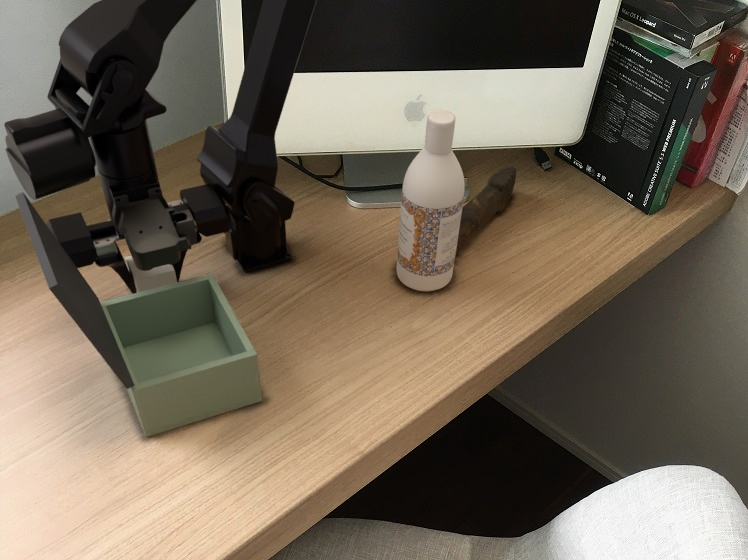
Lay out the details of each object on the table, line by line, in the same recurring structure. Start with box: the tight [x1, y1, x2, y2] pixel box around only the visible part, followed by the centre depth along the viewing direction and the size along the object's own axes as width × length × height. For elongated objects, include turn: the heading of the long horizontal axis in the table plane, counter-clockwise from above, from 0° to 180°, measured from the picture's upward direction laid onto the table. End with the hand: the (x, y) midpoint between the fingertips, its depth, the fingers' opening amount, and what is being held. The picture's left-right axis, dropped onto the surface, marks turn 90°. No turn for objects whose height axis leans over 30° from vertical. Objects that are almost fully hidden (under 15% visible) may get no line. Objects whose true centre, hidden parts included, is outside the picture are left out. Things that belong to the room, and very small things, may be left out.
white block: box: [124, 255, 177, 293], centre depth 91 cm, size 4×4×4 cm
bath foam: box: [395, 108, 465, 292], centre depth 89 cm, size 7×7×20 cm
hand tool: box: [456, 165, 517, 254], centre depth 101 cm, size 19×4×5 cm, turn 143°
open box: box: [100, 273, 263, 438], centre depth 82 cm, size 13×14×7 cm
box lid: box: [14, 191, 134, 390], centre depth 72 cm, size 13×14×1 cm
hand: (155, 288), depth 92 cm, fingers closed on white block, 4 cm apart
